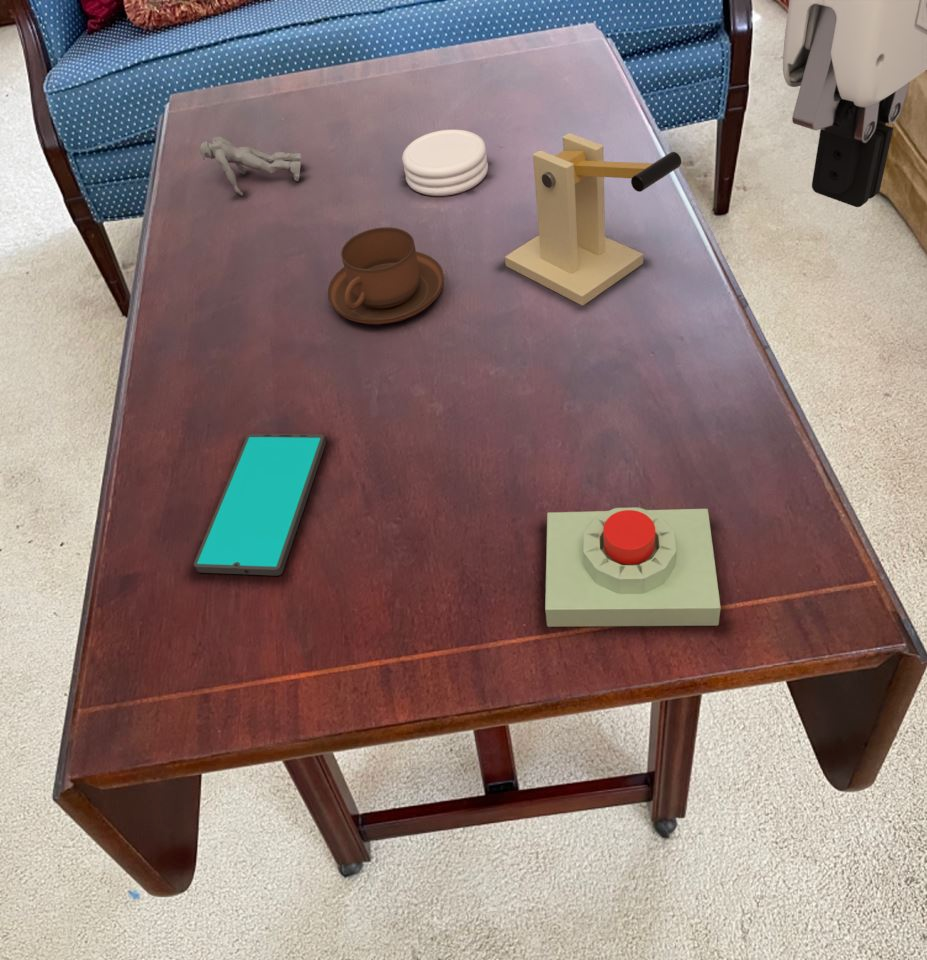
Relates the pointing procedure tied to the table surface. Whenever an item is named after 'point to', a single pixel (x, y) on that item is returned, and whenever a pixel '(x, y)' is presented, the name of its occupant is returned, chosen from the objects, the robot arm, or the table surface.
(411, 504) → the table surface
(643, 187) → the lever
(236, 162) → the soldier figurine
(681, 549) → the button block
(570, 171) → the bracket
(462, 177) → the coaster
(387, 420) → the table surface
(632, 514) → the button
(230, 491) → the smartphone
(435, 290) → the cup and saucer
